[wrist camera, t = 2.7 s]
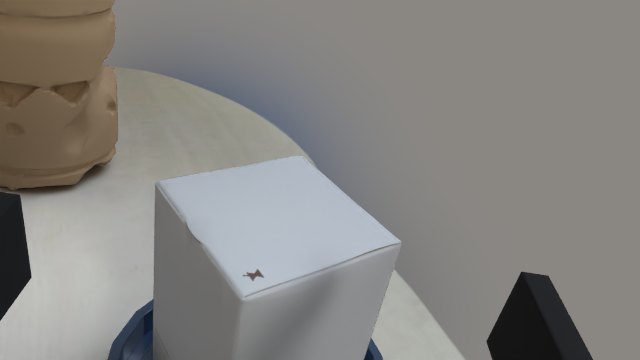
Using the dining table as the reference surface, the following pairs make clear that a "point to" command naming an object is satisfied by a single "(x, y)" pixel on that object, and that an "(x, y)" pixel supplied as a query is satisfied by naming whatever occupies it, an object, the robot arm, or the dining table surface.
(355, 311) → the rectangular carton
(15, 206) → the robot arm
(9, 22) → the container
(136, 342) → the bowl
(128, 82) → the dining table surface
